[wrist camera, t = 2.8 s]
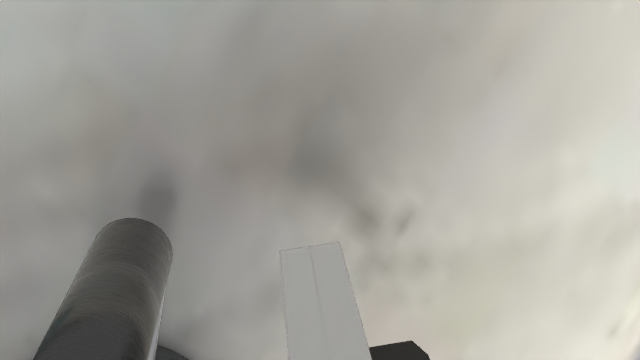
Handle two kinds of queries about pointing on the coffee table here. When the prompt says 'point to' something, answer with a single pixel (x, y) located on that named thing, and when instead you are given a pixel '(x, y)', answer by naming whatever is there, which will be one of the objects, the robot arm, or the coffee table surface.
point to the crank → (114, 297)
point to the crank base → (167, 354)
